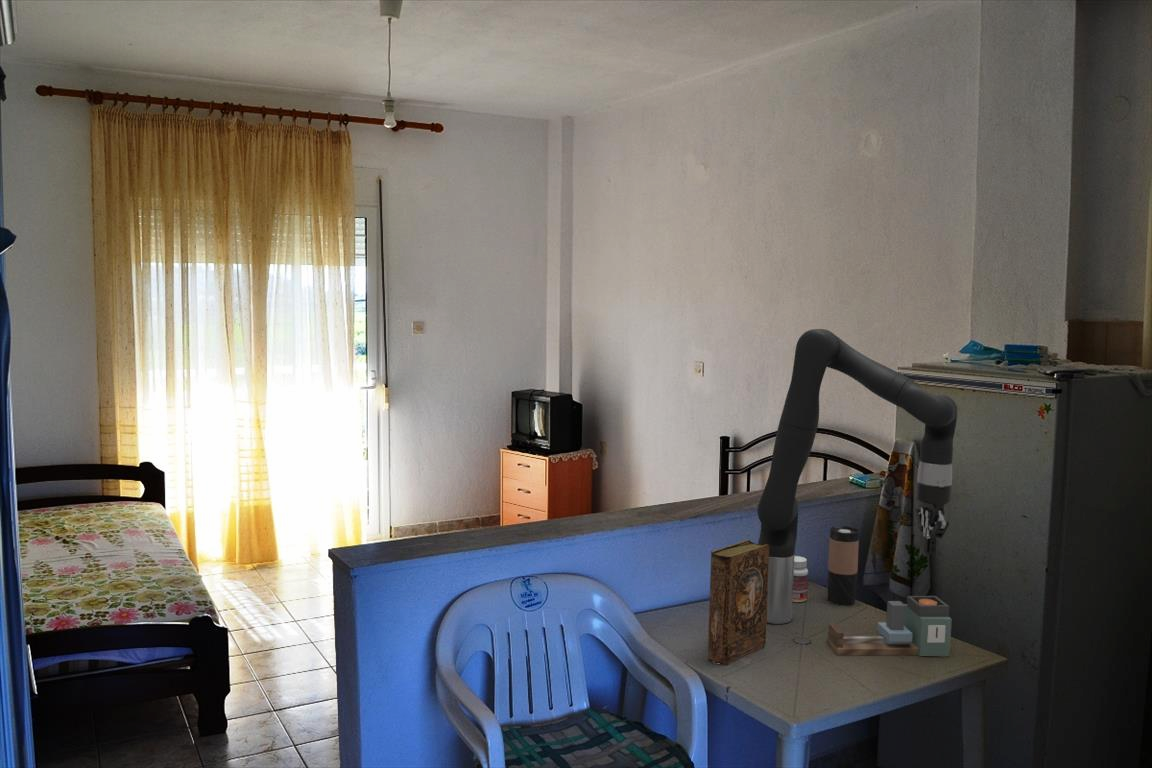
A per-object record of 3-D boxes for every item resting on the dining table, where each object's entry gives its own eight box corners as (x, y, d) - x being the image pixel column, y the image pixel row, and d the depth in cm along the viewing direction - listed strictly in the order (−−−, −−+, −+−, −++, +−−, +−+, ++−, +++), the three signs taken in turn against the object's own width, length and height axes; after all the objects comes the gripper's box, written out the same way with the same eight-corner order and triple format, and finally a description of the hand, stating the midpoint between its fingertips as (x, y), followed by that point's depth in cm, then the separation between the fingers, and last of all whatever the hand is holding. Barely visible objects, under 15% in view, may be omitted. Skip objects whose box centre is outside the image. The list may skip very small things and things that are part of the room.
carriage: (888, 646, 211) (890, 608, 210) (877, 635, 218) (879, 598, 217) (911, 646, 212) (914, 608, 211) (899, 635, 219) (901, 598, 218)
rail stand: (837, 655, 210) (838, 634, 210) (826, 642, 218) (827, 621, 218) (918, 654, 211) (919, 634, 211) (903, 641, 219) (904, 621, 219)
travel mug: (851, 608, 242) (855, 534, 239) (822, 602, 246) (826, 530, 243) (859, 600, 248) (862, 528, 246) (831, 594, 252) (834, 524, 250)
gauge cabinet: (920, 657, 210) (923, 609, 209) (902, 639, 220) (904, 593, 219) (950, 657, 210) (953, 609, 209) (930, 639, 221) (932, 593, 220)
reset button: (922, 612, 213) (923, 604, 212) (915, 606, 217) (916, 598, 216) (939, 612, 213) (940, 604, 213) (931, 606, 217) (932, 598, 217)
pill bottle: (811, 600, 247) (813, 559, 246) (796, 604, 244) (797, 563, 243) (794, 593, 252) (796, 554, 251) (779, 597, 249) (780, 557, 248)
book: (724, 666, 203) (727, 558, 201) (704, 659, 207) (707, 552, 204) (765, 647, 215) (769, 543, 212) (746, 640, 219) (750, 539, 216)
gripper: (906, 475, 218) (902, 545, 220) (931, 487, 205) (926, 562, 207) (937, 475, 218) (932, 545, 220) (963, 487, 205) (958, 562, 207)
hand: (929, 553), depth 213 cm, fingers closed
